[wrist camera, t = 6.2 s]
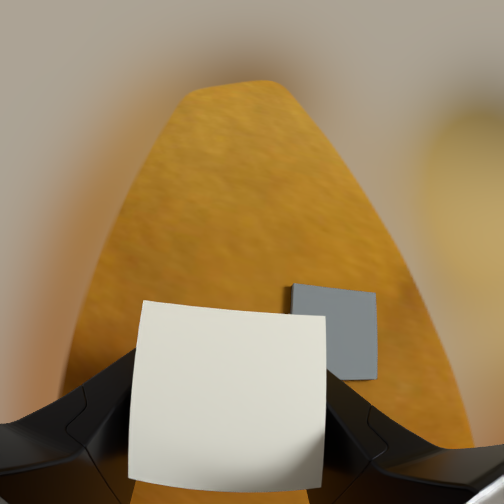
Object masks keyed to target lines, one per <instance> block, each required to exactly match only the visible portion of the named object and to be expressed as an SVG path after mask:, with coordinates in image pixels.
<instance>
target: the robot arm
mask: <svg viewBox="0 0 504 504" xmlns="http://www.w3.org/2000/svg"><path fill="white" fill-rule="evenodd" d="M135 355H136V348H134V349H133V350H132V351H130V352H129V353H127V354H126V355H124V356H123V357H121V358H120V359H118V360H117V361H116V362H114V363H113V364H111V365H110V366H108V367H107V368H105V369H104V370H102V371H101V372H100V373H98V374H97V375H95V376H94V377H92V378H91V379H89V380H88V381H86V382H85V383H83V384H82V385H80V386H79V387H77V388H76V389H74V390H73V391H71V392H70V393H68V394H67V395H65V396H63V397H62V398H60V399H58V400H56V401H55V402H53V403H51V404H49V405H47V406H45V407H43V408H42V409H39V410H37V411H35V412H33V413H32V414H29V415H27V416H25V417H23V418H21V419H20V420H17V421H14V422H11V423H6V424H0V504H130V501H131V497H132V493H133V489H134V485H135V482H136V480H135V479H131V478H128V452H129V424H130V407H131V394H132V382H133V372H134V363H135ZM306 490H307V494H308V499H309V503H310V504H504V444H502V445H495V446H488V447H478V448H466V449H445V448H440V447H438V446H435V445H433V444H431V443H430V442H428V441H426V440H424V439H423V438H421V437H419V436H417V435H416V434H414V433H412V432H411V431H409V430H407V429H406V428H404V427H403V426H401V425H399V424H398V423H396V422H395V421H393V420H392V419H390V418H389V417H388V416H386V415H385V414H383V413H382V412H381V411H379V410H378V409H377V408H376V407H374V406H373V405H371V404H370V403H369V402H368V401H366V400H365V399H364V398H363V397H361V396H360V395H359V394H358V393H356V392H355V391H354V390H353V389H351V388H350V387H349V386H348V385H346V384H345V383H344V382H343V381H341V380H340V379H339V378H338V377H337V376H335V375H334V374H333V373H332V372H330V371H329V370H328V369H327V368H326V416H325V440H324V456H323V470H322V482H321V487H320V488H312V489H306Z"/></svg>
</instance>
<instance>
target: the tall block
mask: <svg viewBox="0 0 504 504" xmlns="http://www.w3.org/2000/svg"><path fill="white" fill-rule="evenodd" d="M325 416H326V319H325V316H313V315H293V314H276V313H261V312H248V311H236V310H224V309H214V308H204V307H194V306H185V305H177V304H168V303H160V302H152V301H145V300H143V306H142V312H141V319H140V325H139V332H138V339H137V347H136V355H135V363H134V372H133V382H132V394H131V407H130V424H129V452H128V478H131V479H135V480H140V481H144V482H149V483H155V484H160V485H166V486H172V487H180V488H187V489H196V490H207V491H223V492H277V491H292V490H303V489H312V488H320V487H321V482H322V470H323V456H324V440H325Z"/></svg>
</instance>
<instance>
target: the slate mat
mask: <svg viewBox="0 0 504 504" xmlns="http://www.w3.org/2000/svg"><path fill="white" fill-rule="evenodd" d="M290 314H293V315H313V316H325V319H326V368H327V369H328V370H329V371H330V372H332V373H333V374H334V375H335V376H337V377H338V378H339V379H340V380H374V379H377V314H376V295H375V293H371V292H362V291H353V290H344V289H336V288H327V287H319V286H311V285H303V284H295V283H294V284H293V285H292V293H291V312H290Z"/></svg>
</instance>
